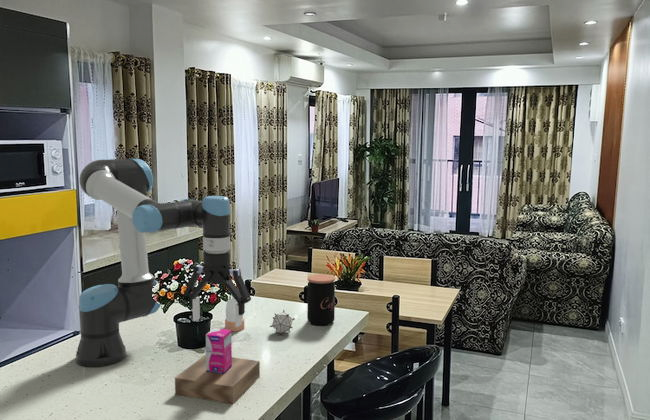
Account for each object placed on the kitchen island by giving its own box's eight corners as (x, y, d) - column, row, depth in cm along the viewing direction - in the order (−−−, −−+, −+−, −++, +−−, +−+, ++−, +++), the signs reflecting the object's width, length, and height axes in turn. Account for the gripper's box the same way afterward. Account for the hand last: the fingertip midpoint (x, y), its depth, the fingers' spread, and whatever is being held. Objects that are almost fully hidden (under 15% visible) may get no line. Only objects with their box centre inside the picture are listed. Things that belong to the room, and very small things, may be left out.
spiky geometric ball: (278, 343, 204) (262, 325, 200) (282, 328, 211) (267, 310, 208) (298, 335, 201) (282, 316, 197) (301, 320, 208) (286, 301, 205)
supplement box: (205, 372, 159) (204, 334, 157) (214, 364, 164) (213, 327, 163) (224, 374, 157) (223, 336, 156) (232, 366, 163) (232, 329, 161)
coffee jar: (322, 328, 209) (322, 282, 207) (301, 322, 216) (301, 277, 214) (339, 321, 218) (340, 277, 215) (319, 315, 224) (319, 272, 222)
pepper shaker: (248, 328, 209) (247, 279, 206) (231, 332, 204) (230, 282, 201) (238, 323, 214) (237, 275, 212) (221, 327, 210) (220, 278, 207)
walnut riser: (175, 394, 156) (174, 377, 155) (206, 368, 173) (206, 353, 172) (233, 404, 150) (232, 386, 150) (259, 376, 168) (259, 361, 167)
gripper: (170, 249, 156) (172, 321, 159) (251, 257, 149) (251, 332, 152) (184, 244, 163) (186, 313, 166) (262, 251, 156) (262, 323, 159)
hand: (217, 322), depth 159 cm, fingers open, 13 cm apart
